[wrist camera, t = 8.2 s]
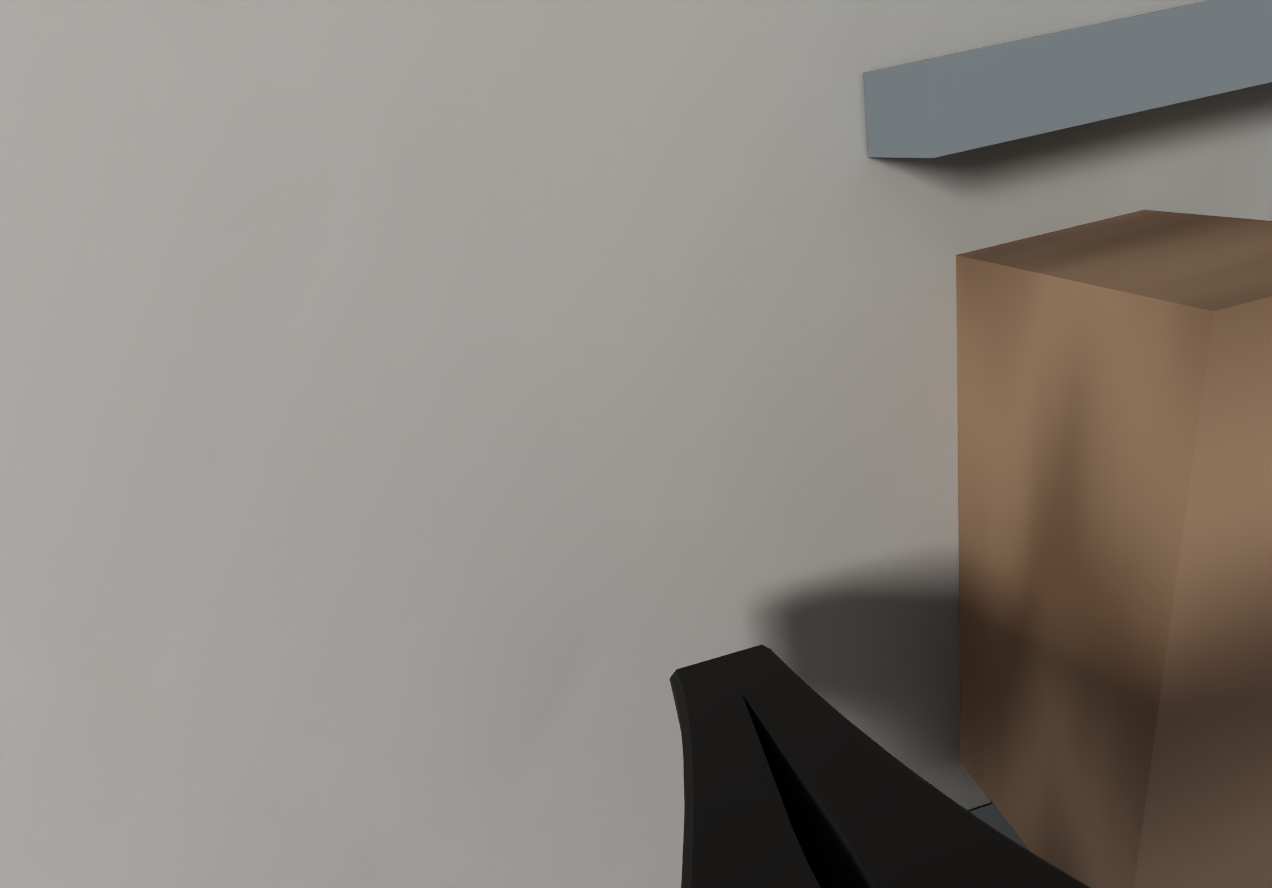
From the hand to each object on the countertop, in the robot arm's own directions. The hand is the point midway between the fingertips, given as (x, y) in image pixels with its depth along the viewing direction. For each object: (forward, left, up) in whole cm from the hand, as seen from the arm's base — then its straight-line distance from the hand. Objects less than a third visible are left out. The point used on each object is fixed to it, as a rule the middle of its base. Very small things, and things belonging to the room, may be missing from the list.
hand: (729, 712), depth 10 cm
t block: (0, -10, -2) cm, 10 cm away
